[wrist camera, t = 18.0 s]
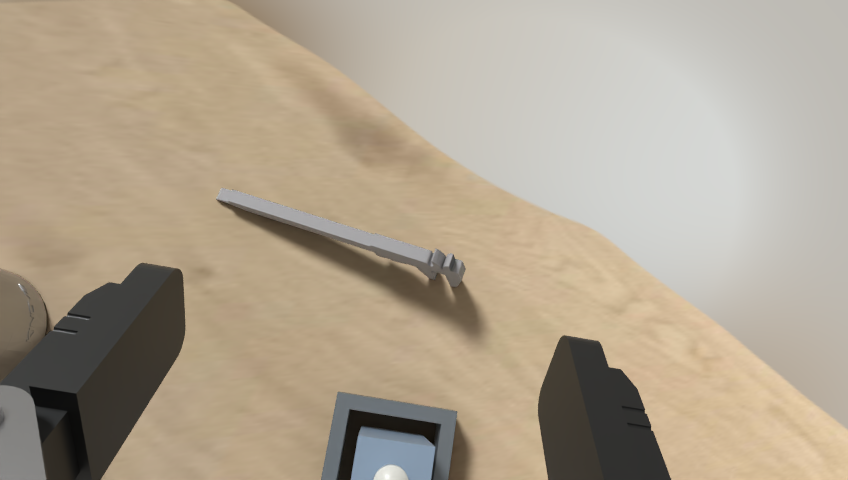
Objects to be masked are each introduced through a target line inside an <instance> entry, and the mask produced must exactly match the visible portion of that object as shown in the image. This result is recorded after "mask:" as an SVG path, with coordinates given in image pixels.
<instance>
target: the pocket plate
mask: <svg viewBox="0 0 848 480" xmlns="http://www.w3.org/2000/svg"><path fill="white" fill-rule="evenodd" d="M351 409H352V410H358V411H364V412H371V413H377V414H383V415H389V416H395V417H401V418H408V419H414V420H420V421H426V422H432V423H437V424H436V431H435V438H434V444H433V445H434V446H435V454H434V461H433V469H432V476H431V480H448V476H449V469H450V462H451V454H452V447H453V440H454V432H455V425H456V418H457V411H453V410H448V409H442V408H436V407H430V406H424V405H418V404H411V403H405V402H399V401H393V400H387V399H381V398H375V397H368V396H362V395H356V394H350V393H344V392H338V394H337V399H336V404H335V409H334V415H333V420H332V425H331V430H330V436H329V441H328V446H327V451H326V457H325V462H324V467H323V472H322V478H321V480H338V476H339V470H340V465H341V459H342V454H343V448H344V443H345V437H346V432H347V427H348V421H349V416H350V410H351Z"/></svg>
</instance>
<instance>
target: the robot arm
mask: <svg viewBox="0 0 848 480" xmlns="http://www.w3.org/2000/svg"><path fill="white" fill-rule="evenodd" d="M46 328H47V317H46V310H45V306H44V303H43V300H42V299H41V297H40V295H39V293H38V291H37V290H36V289H35V288H34V287H33V286H32V285H31V284H30V282H28V281H27V280H25V279H24V278H22V277H21V276H19V275H17V274H14V273H12V272H9V271H6V270H3V269H0V480H101V478H102V476H103V475H104V473H105V472H106V470H107V468H108V467H109V465H110V464H111V462H112V461H113V459H114V457H115V456H116V454H117V453H118V451H119V449H120V448H121V446H122V445H123V443H124V441H125V440H126V438H127V437H128V435H129V433H130V432H131V430H132V429H133V427H134V425H135V424H136V422H137V421H138V419H139V417H140V416H141V414H142V413H143V411H144V409H145V408H146V406H147V405H148V403H149V401H150V400H151V398H152V397H153V395H154V394H155V392H156V390H157V389H158V387H159V386H160V384H161V382H162V381H163V379H164V378H165V376H166V374H167V373H168V371H169V370H170V368H171V366H172V365H173V363H174V362H175V360H176V358H177V357H178V355H179V353H180V350H181V348H182V344H183V341H184V336H185V308H184V287H183V275H182V272H181V270H180V269H176V268H171V267H165V266H159V265H153V264H147V263H140V264H139V265H138V266H136V267H135V269H134V270H133V271H132V272H131V273H130V274H129V275H128V276H127V277H126V279H125V280H124V281H123V282H122V283H121V284H116V283H110V282H109V283H107V284H105V285H103V286H101V287H100V288H98V289H96V290H94V291H92V292H90V293H88V294H86V295H85V296H84V297H83V298H82V299H81V300H80V301H79V302H78V303H77V304H76V305H75V306H74V307H73V308H72V309H71V310H70V311H69V312H68V315H67V317H66V316H64V317H63V318H62V319H61V320H60V321H59V322H58V323H57V324H56V325H55V326H54V330H53V331H50V332H49V333H48V334H47V335H46V336H45V333H46ZM538 417H539V424H540V430H541V436H542V442H543V449H544V455H545V461H546V468H547V474H548V480H671V478H670V475H669V473H668V470H667V467H666V465H665V462H664V459H663V457H662V454H661V451H660V449H659V446H658V443H657V441H656V438H655V435H654V432H653V431H651V424H650V422H649V419H648V416H647V414H645V408H644V406H643V403H642V400H641V398H640V395H639V392H638V390H637V388H636V387H635V386H634V385H633V383H632V382H631V381H630V380H629V379H628V377H627V376H626V375H625V374H624V373H623V371H622V370H621V369H615V368H609V367H608V364H607V361H606V358H605V354H604V351H603V348H602V346H601V344H600V342H598V341H594V340H588V339H582V338H577V337H571V336H565V335H564V336H562V337H561V338H560V340H559V342H558V344H557V347H556V350H555V352H554V355H553V358H552V360H551V363H550V366H549V368H548V371H547V374H546V376H545V379H544V382H543V385H542V387H541V391H540V396H539V403H538Z"/></svg>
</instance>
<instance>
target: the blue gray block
mask: <svg viewBox="0 0 848 480" xmlns="http://www.w3.org/2000/svg"><path fill="white" fill-rule="evenodd" d="M434 454H435V446H434V445H433V444H432V443H430V442H429V441H428V440H427V439H426V438H425V437H424V436H423V435H422V434H416V433H409V432H403V431H396V430H389V429H383V428H376V427H370V426H363V425H362V426H361V429H360V432H359V435H358V440H357V446H356V451H355V457H354V463H353V469H352V475H351V480H431V476H432V469H433V461H434Z"/></svg>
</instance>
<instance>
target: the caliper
mask: <svg viewBox="0 0 848 480" xmlns="http://www.w3.org/2000/svg"><path fill="white" fill-rule="evenodd" d="M216 199H217V200H219V201H222V202H225V203H228V204H231V205H233V206H235V207H238V208H241V209H243V210H246V211H249V212H251V213H255V214H258V215H261V216H264V217H267V218H270V219H273V220H276V221H279V222H282V223H286V224H289V225H292V226H295V227H298V228H301V229H304V230H307V231H310V232H314V233H317V234H320V235H323V236H326V237H329V238H332V239H335V240H338V241H341V242H344V243H347V244H350V245H354V246H357V247H360V248H363V249H366V250H369V251H372V252H375V254H376V255H377V256H380V257H384V258H388V259H390V260H393V261H396V262H400V263H404V264H409V265H412V266H415V267H417V268H418V269H419V270H420V271H421V272H422V273H424V274H425V275H426V276H427V277H428V278H430V279H433V280H435V279H436V276H437V273H440V274H444V275H445V276H446V278H447V280H448V282H449V284H450V286H453V287H457V286H458V285H459V284H460V282H461V281H462V278H463V275H464V272H465V266H464V264H463V261H461V260H458V259H455V258H454V255H453V254H448V255H447V257H446V256H445V255H444V253H442V252H441V251H440V250H438V249H435V252H434V253H432V251H430V250H427V249H424V248H421V247H418V246H414V245H411V244H408V243H405V242H402V241H398V240H395V239H392V238H389V237H386V236H382V235H379V234H376V233H375V234H371V233H368V232H365V231H362V230H359V229H356V228H352V227H349V226H346V225H343V224H340V223H337V222H334V221H330V220H327V219H324V218H321V217H318V216H315V215H312V214H308V213H305V212H302V211H299V210H296V209H293V208H290V207H286V206H283V205H280V204H277V203H274V202H271V201H267V200H264V199H261V198H258V197H255V196H252V195H249V194H245V193H242V192H239V191H236V190H233V189H232V191H231V190H228V189H224V188H221V190H220V192H219V194H218V196H217V198H216Z"/></svg>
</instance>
